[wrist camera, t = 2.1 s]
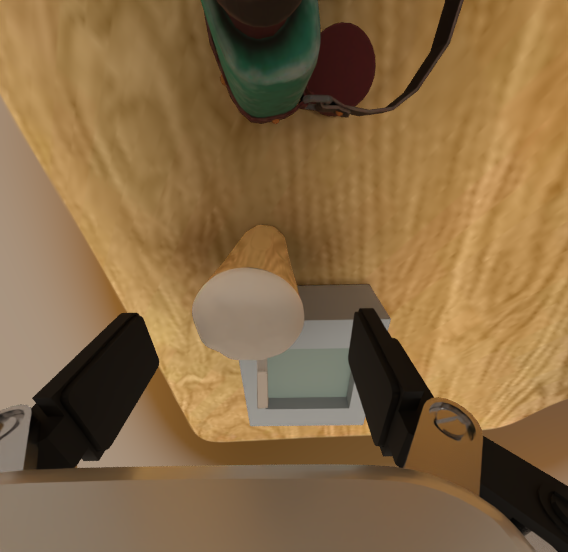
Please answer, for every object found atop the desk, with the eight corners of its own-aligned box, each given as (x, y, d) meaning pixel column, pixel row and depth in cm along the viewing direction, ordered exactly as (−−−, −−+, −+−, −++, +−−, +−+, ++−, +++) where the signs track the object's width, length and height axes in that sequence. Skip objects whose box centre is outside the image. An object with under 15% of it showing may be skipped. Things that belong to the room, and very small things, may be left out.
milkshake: (245, 286, 18) (208, 414, 9) (224, 221, 16) (148, 313, 7) (301, 277, 18) (318, 402, 9) (290, 208, 15) (297, 290, 6)
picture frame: (242, 286, 18) (232, 321, 14) (369, 284, 18) (390, 319, 14) (255, 383, 24) (250, 426, 20) (350, 382, 24) (362, 424, 20)
